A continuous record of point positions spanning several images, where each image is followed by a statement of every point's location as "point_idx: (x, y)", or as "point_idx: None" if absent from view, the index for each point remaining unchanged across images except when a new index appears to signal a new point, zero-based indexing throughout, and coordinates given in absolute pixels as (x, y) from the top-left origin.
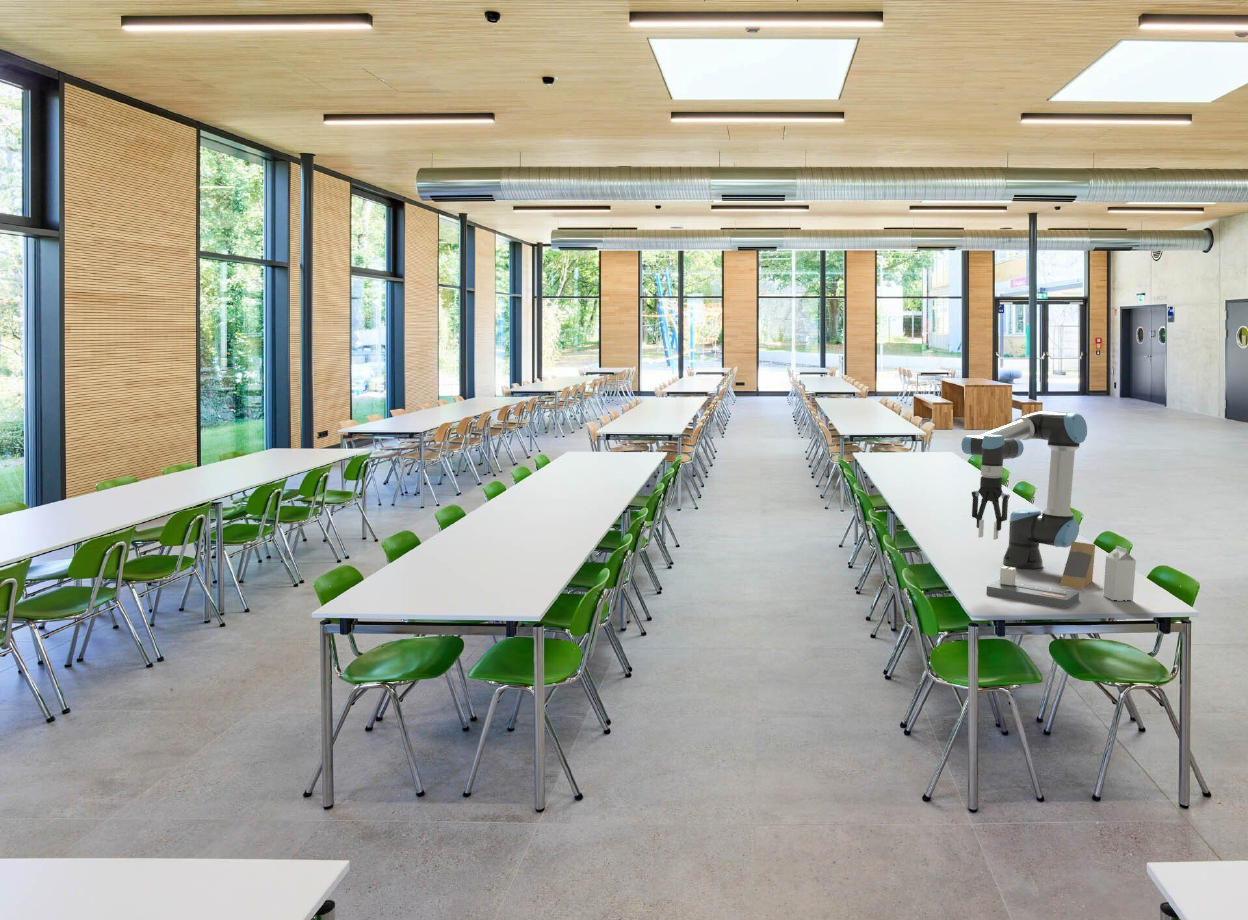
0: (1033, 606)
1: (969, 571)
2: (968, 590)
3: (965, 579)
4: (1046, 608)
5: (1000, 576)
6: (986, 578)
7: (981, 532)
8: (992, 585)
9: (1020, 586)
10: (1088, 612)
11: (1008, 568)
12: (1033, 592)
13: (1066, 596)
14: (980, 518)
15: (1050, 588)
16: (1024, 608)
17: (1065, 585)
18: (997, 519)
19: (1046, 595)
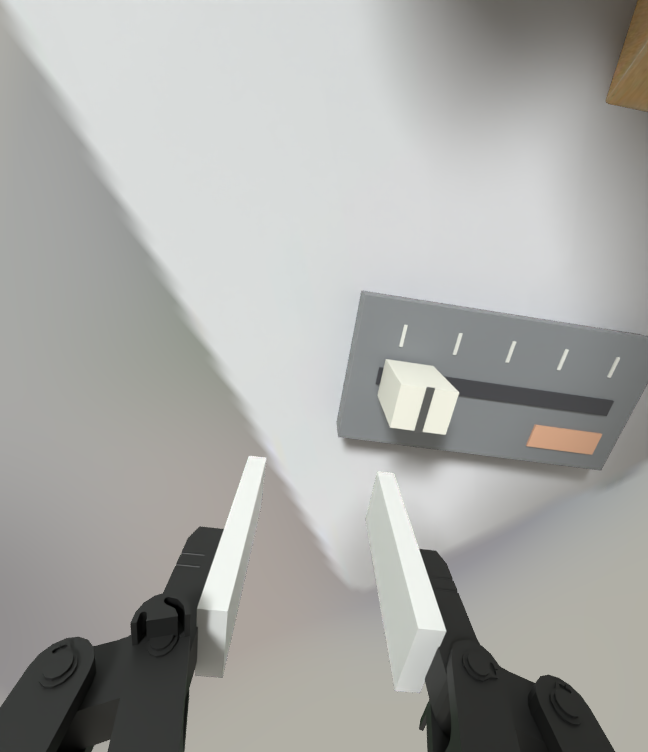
0: (485, 480)
1: (159, 30)
2: (272, 407)
3: (207, 241)
4: (521, 481)
5: (383, 408)
6: (278, 159)
7: (255, 522)
8: (354, 416)
9: (452, 384)
10: (638, 461)
11: (425, 423)
12: (498, 435)
13: (607, 428)
14: (190, 676)
15: (564, 343)
16: (461, 511)
17: (635, 101)
18: (445, 746)
19: (539, 449)
